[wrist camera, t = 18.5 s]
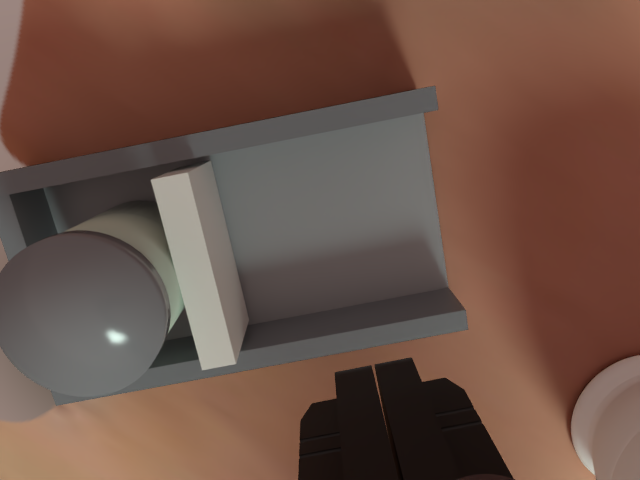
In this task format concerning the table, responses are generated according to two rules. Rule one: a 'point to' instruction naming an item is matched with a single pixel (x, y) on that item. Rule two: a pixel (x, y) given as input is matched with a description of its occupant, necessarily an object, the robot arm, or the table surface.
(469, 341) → the table surface
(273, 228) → the grey tray
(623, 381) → the jar
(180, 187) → the block
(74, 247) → the small jar
